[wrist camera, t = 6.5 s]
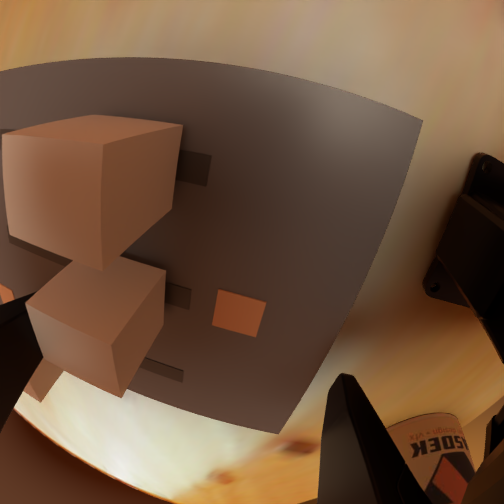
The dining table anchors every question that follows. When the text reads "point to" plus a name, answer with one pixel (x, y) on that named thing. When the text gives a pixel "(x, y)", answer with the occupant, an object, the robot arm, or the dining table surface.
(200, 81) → the switch unit
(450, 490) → the coffee cup
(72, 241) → the slider
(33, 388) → the slider
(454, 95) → the dining table surface
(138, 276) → the slider
